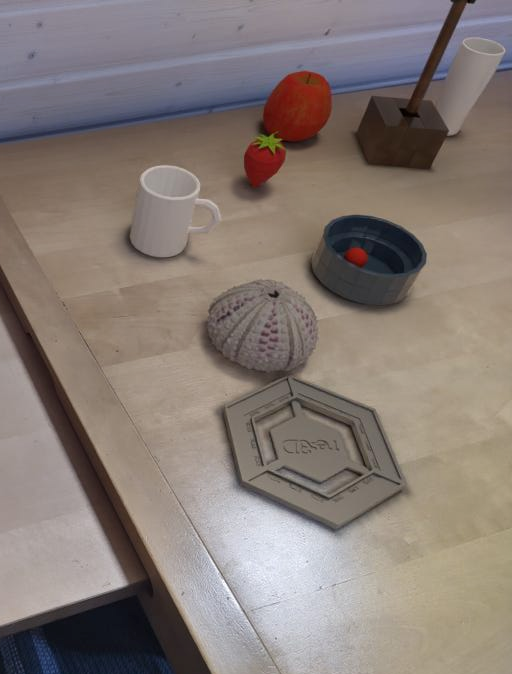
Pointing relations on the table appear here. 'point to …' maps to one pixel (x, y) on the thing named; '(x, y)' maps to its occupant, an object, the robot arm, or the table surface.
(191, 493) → the table surface
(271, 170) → the strawberry
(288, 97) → the apple
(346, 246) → the bowl
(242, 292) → the sea urchin shell
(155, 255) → the mug
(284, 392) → the grey hexagonal plate
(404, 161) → the holder
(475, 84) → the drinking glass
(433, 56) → the stirring stick
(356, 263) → the ball
